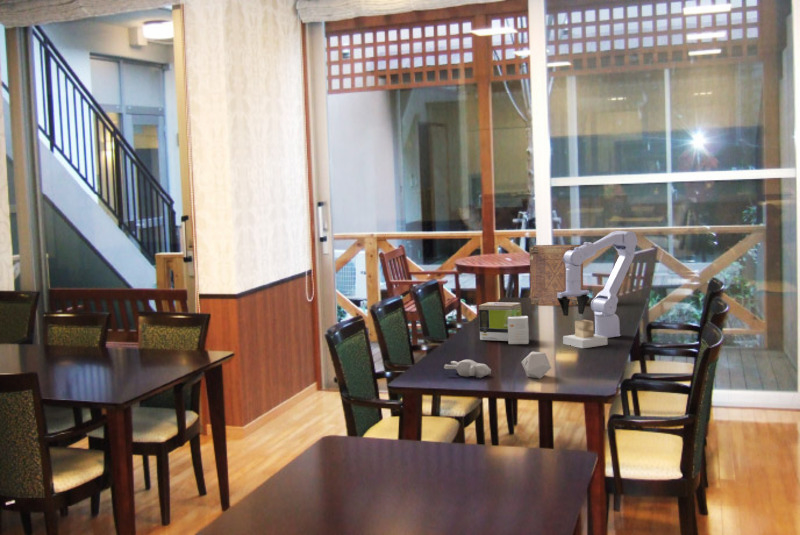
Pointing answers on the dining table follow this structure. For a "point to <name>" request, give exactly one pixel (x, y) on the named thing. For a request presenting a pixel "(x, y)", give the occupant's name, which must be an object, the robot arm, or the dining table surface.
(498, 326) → the tea box
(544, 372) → the die
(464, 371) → the bunny figurine
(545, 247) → the book
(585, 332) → the maple block
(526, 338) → the small box
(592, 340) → the white square slab
